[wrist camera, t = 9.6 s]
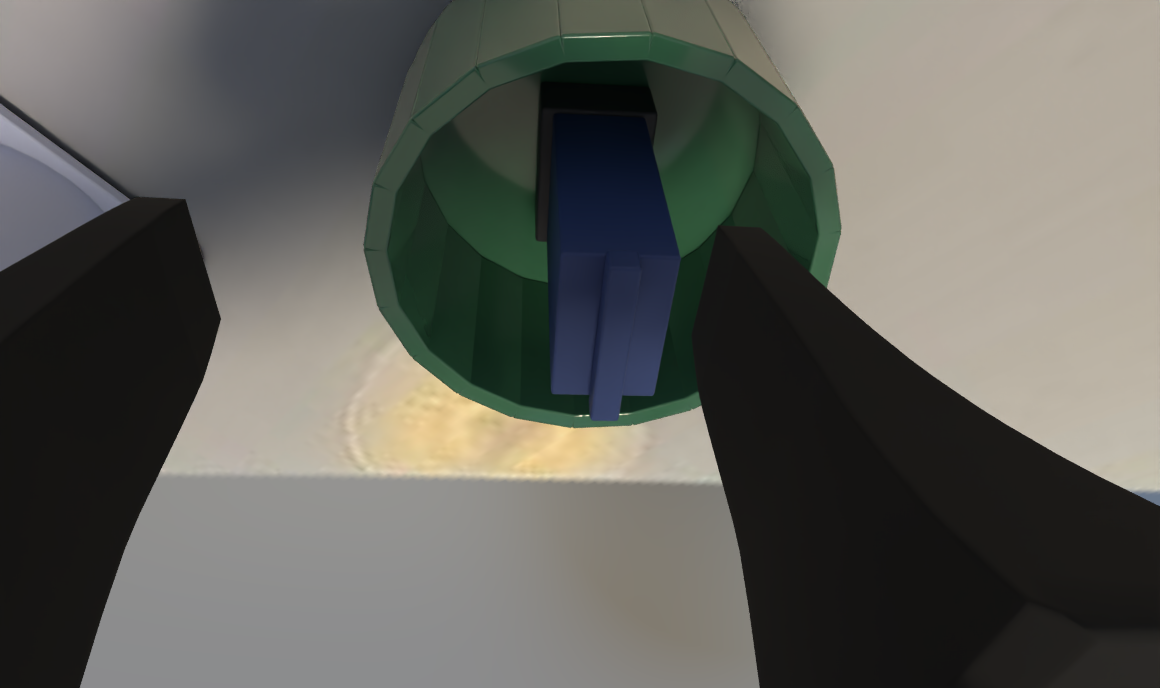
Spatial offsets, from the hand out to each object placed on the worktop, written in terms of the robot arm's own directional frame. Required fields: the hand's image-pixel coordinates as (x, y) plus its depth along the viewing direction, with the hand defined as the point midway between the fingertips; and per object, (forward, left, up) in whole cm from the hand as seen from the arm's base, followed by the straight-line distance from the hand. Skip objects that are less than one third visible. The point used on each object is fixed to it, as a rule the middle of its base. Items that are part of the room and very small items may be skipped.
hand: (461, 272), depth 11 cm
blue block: (0, -4, -10) cm, 11 cm away
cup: (0, -4, -10) cm, 11 cm away
